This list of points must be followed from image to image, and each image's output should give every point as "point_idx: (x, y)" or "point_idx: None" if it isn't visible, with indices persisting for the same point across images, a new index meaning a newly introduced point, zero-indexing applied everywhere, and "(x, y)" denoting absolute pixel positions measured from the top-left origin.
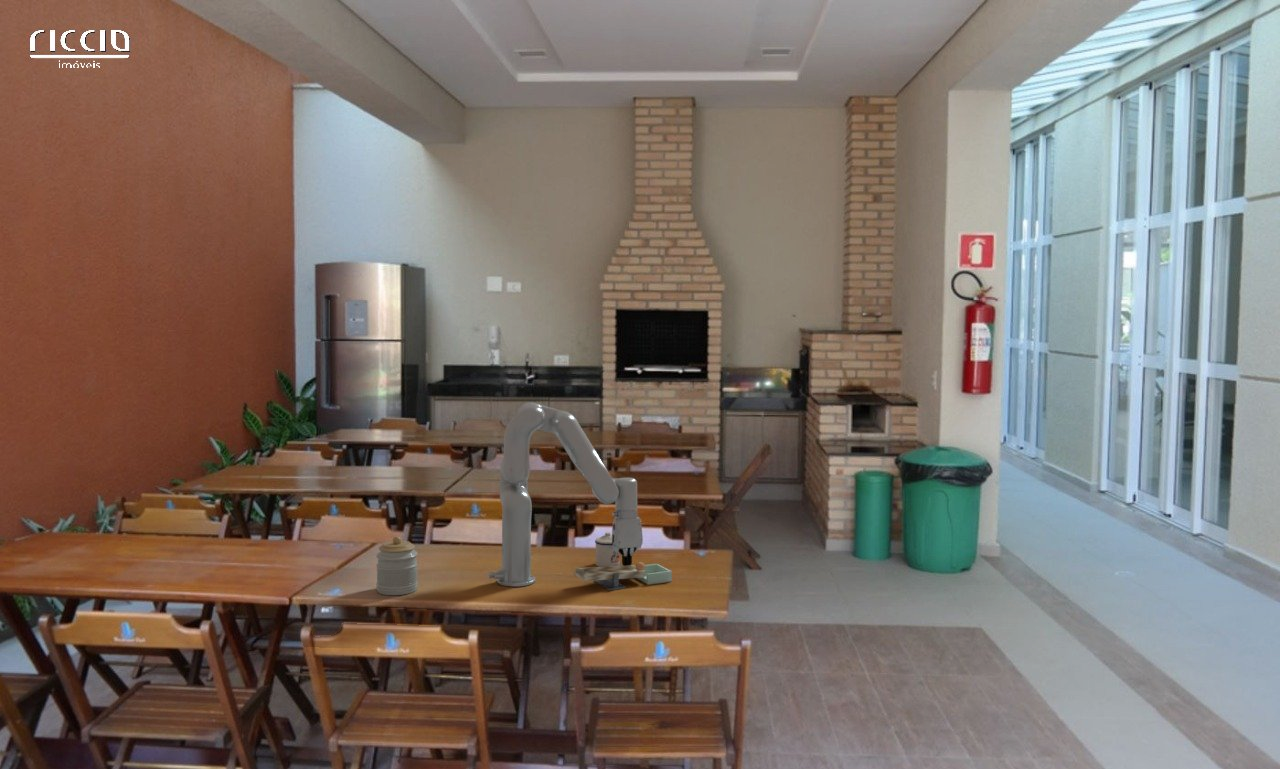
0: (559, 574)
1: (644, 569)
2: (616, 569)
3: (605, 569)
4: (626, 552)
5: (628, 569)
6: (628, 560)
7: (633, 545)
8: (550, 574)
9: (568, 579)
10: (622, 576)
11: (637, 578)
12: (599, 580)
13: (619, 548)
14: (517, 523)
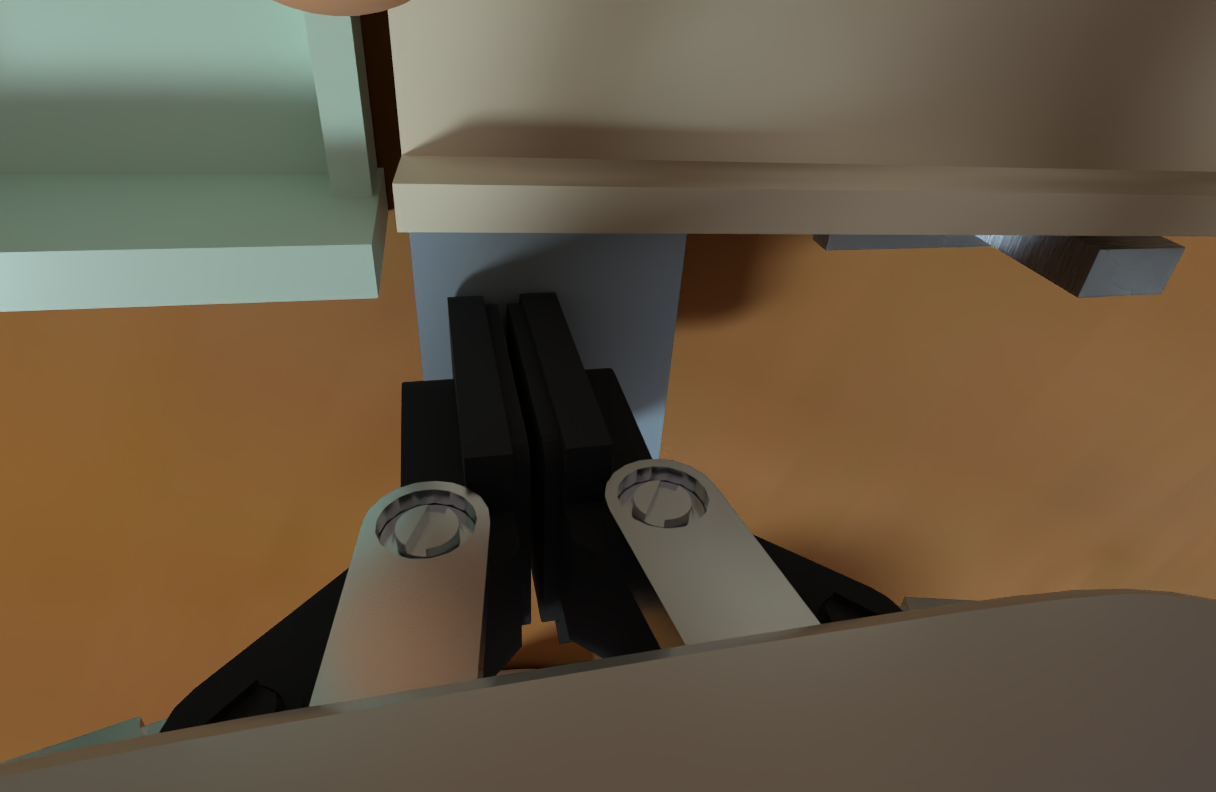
0: (1095, 573)
1: (87, 215)
2: (896, 168)
3: (1157, 177)
4: (648, 554)
5: (588, 145)
6: (533, 382)
7: (422, 775)
8: (1145, 589)
9: (1186, 408)
10: None
11: (361, 34)
12: None
13: (1168, 596)
14: None
